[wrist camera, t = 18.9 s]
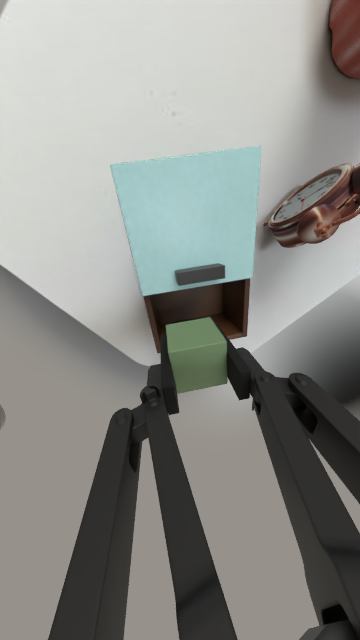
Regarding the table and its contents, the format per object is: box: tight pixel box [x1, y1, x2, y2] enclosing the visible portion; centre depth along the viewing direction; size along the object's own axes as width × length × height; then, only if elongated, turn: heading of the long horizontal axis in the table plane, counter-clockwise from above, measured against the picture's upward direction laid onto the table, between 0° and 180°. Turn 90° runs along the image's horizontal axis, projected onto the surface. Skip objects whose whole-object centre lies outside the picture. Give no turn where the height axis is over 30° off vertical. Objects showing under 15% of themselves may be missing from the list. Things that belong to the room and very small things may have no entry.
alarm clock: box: [264, 163, 360, 248], centre depth 23 cm, size 11×5×15 cm, turn 137°
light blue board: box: [110, 146, 261, 296], centre depth 19 cm, size 16×14×3 cm
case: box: [144, 278, 250, 353], centre depth 30 cm, size 16×14×10 cm
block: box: [166, 317, 227, 393], centre depth 15 cm, size 4×4×4 cm
